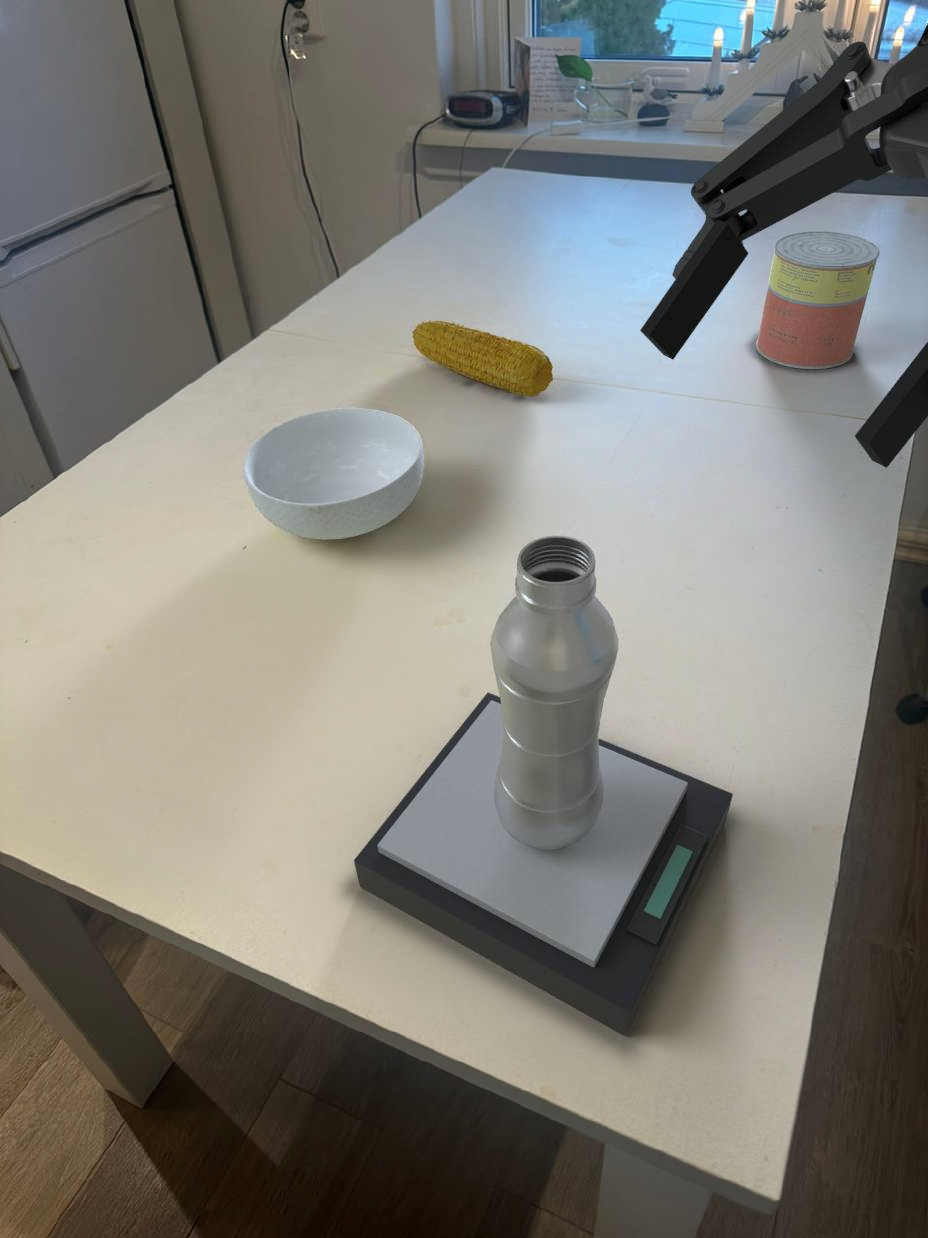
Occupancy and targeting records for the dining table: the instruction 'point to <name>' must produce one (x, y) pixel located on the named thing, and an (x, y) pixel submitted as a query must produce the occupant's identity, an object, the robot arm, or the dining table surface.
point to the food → (485, 357)
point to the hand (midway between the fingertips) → (751, 394)
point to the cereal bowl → (335, 472)
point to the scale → (550, 870)
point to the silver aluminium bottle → (552, 694)
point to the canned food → (815, 299)
